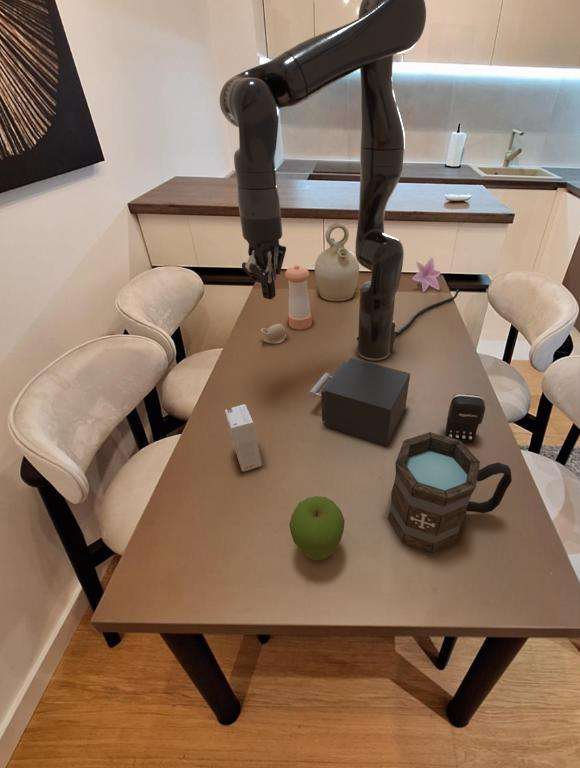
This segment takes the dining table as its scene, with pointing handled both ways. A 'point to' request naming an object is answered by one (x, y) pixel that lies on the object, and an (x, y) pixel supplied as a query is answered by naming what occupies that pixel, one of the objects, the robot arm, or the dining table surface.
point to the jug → (336, 268)
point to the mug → (438, 490)
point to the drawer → (320, 384)
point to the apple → (317, 527)
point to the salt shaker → (298, 298)
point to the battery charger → (464, 417)
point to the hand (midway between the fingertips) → (269, 297)
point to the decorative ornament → (274, 334)
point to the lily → (427, 275)
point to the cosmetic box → (243, 437)
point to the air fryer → (366, 401)
